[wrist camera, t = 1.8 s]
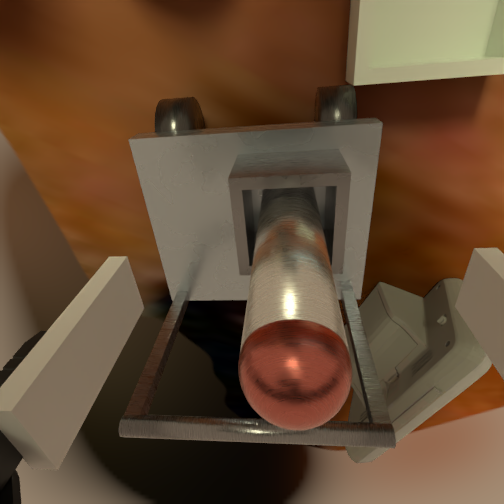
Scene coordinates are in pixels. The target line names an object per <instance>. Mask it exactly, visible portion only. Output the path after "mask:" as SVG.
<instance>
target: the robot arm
mask: <svg viewBox="0 0 504 504" xmlns="http://www.w3.org/2000/svg"><path fill="white" fill-rule="evenodd" d="M455 307H456V309H457V310H458V312H459V313H460V315H461V316H462V318H463V319H464V321H465V322H466V324H467V325H468V327H469V328H470V330H471V331H472V333H473V335H474V336H475V338H476V339H477V341H478V342H479V344H480V345H481V347H482V348H483V350H484V351H485V353H486V354H487V356H488V357H489V359H490V360H491V362H492V363H493V365H494V366H495V368H496V369H497V371H498V372H499V374H500V375H501V377H502V378H503V380H504V254H503V253H502V252H501V251H500V250H499V249H498V248H474V250H473V253H472V256H471V259H470V262H469V265H468V268H467V271H466V274H465V277H464V280H463V283H462V286H461V289H460V292H459V296H458V299H457V302H456V305H455ZM143 309H144V306H143V303H142V300H141V297H140V294H139V291H138V288H137V285H136V282H135V279H134V276H133V273H132V270H131V267H130V264H129V261H128V258H127V256H123V257H109V258H108V259H107V260H106V261H105V262H104V264H103V265H102V266H101V267H100V268H99V270H98V271H97V272H96V273H95V274H94V276H93V277H92V278H91V279H90V280H89V282H88V283H87V284H86V285H85V286H84V288H83V289H82V290H81V291H80V293H79V294H78V295H77V296H76V297H75V298H74V300H73V301H72V302H71V303H70V304H69V306H68V307H67V308H66V309H65V310H64V312H63V313H62V314H61V315H60V316H59V318H58V319H57V320H56V321H55V322H54V324H53V325H52V326H51V327H50V328H49V330H48V331H40V332H39V333H38V334H36V335H35V336H33V337H32V338H31V339H29V340H28V341H27V342H25V343H24V344H23V345H22V347H21V348H20V349H19V350H18V351H17V352H16V353H15V355H14V356H13V359H10V360H9V362H8V363H7V364H6V365H5V366H4V367H3V370H2V371H0V504H21V494H20V481H19V476H18V473H17V471H16V470H15V469H16V468H17V466H18V464H19V463H20V461H21V460H22V458H23V459H24V460H25V461H26V462H27V463H28V465H29V466H30V467H31V468H32V469H46V470H58V469H59V466H60V465H61V463H62V461H63V459H64V457H65V455H66V454H67V452H68V450H69V448H70V446H71V444H72V442H73V440H74V438H75V437H76V435H77V433H78V431H79V429H80V427H81V425H82V423H83V422H84V420H85V418H86V416H87V414H88V412H89V410H90V409H91V407H92V405H93V403H94V401H95V399H96V397H97V395H98V393H99V392H100V390H101V388H102V386H103V384H104V382H105V381H106V379H107V377H108V375H109V373H110V371H111V369H112V367H113V365H114V364H115V362H116V360H117V358H118V356H119V354H120V353H121V351H122V349H123V347H124V345H125V343H126V341H127V339H128V338H129V336H130V334H131V332H132V330H133V328H134V326H135V324H136V323H137V321H138V319H139V317H140V315H141V313H142V311H143Z"/></svg>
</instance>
